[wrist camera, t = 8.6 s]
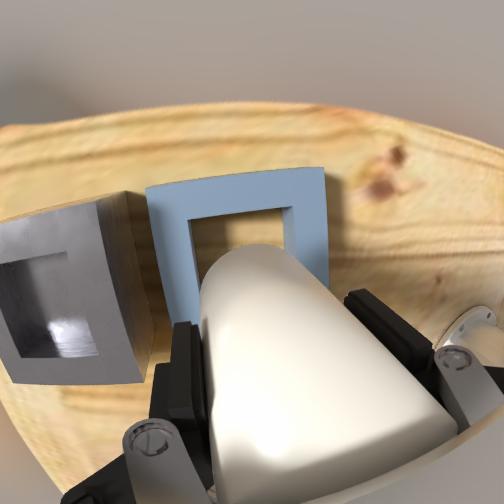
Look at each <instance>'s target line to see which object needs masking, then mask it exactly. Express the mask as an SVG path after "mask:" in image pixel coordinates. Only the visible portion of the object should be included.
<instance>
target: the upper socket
mask: <svg viewBox="0 0 504 504" xmlns="http://www.w3.org/2000/svg"><path fill="white" fill-rule="evenodd" d="M154 336H155V327H154V323H153V320H152V316H151V312H150V308H149V304H148V300H147V296H146V292H145V288H144V284H143V280H142V275H141V271H140V266H139V261H138V257H137V252H136V247H135V242H134V237H133V231H132V226H131V220H130V214H129V208H128V202H127V195H126V191H121V192H116V193H111V194H106V195H101V196H96V197H92V198H87V199H83V200H78V201H74V202H69V203H65V204H61V205H57V206H53V207H49V208H45V209H41V210H37V211H33V212H29V213H26V214H22V215H18V216H15V217H11V218H8V219H5V220H2V221H0V358H1V360H2V362H3V364H4V366H5V368H6V370H7V372H8V374H9V376H10V378H11V380H12V382H13V383H19V384H37V385H111V384H131V383H144V381H145V376H146V372H147V367H148V362H149V358H150V353H151V349H152V344H153V340H154Z"/></svg>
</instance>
